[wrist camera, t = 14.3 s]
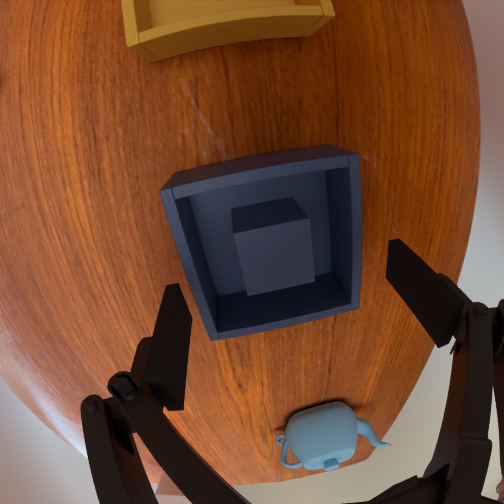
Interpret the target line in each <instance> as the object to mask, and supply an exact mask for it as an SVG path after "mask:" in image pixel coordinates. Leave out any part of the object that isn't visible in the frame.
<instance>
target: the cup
mask: <svg viewBox="0 0 504 504" xmlns="http://www.w3.org/2000/svg"><path fill="white" fill-rule="evenodd" d="M155 496H156V499H157V501H158V503H159V504H192V503H191V502H190V501H189V500H188V499H187V498H186V497H185V495H184V494H183V493H182V492H181V491H180V490H179V488H178V487H177V486H176V485H175V484H174V483H173V481H172V480H171V479H170V478H169V476H168V475H167V474H166V473H165V471H164V470H163V473H162V476H161V479H160V482H159V485H158V488H157V491H156V493H155Z"/></svg>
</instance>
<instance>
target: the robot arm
mask: <svg viewBox="0 0 504 504" xmlns="http://www.w3.org/2000/svg"><path fill="white" fill-rule="evenodd" d="M386 279H387V280H388V281H389V283H390V284H391V285H392V286H393V288H394V289H395V290H396V291H397V293H398V294H399V295H400V296H401V298H402V299H403V300H404V302H405V303H406V304H407V306H408V307H409V308H410V309H411V311H412V312H413V313H414V315H415V316H416V317H417V319H418V320H419V322H420V323H421V324H422V326H423V327H424V328H425V330H426V331H427V333H428V334H429V335H430V337H431V338H432V340H433V341H434V343H435V344H436V345H437V347H438V348H440V347H442V346H444V345H447V344H448V343H449V342H450V340H451V338H452V335H453V336H454V337H455V339H456V341H455V343H454V345H453V347H452V349H451V352H450V354H452V352H453V351H454V352H453V362H452V370H451V378H450V385H449V391H448V397H447V402H446V407H445V412H444V417H443V421H442V426H441V429H440V433H439V437H438V441H437V444H436V448H435V451H434V454H433V457H432V460H431V462H430V463H429V465H428V466H427V468H426V470H425V472H424V475H423V477H421V478H418V477H417V475H415V476H413V477H411V478H409V479H407V480H404V481H403V482H400V483H398V484H395V485H393V486H392V487H390V488H389V489H387V490H386V491H384V492H383V493H381V494H379V495H378V496H376V497H375V498H373V499H371V500H370V501H365V502H356V503H345V504H504V299H502V300H500V302H499V304H498V307H495V308H488V307H487V306H486V305H484V304H483V303H480V302H474V303H473V302H472V301H471V300H470V299H469V298H468V297H467V296H466V294H465V293H463V291H462V290H461V289H460V288H458V286H457V285H456V284H454V282H453V281H452V280H451V279H450V278H449V277H447V276H445V275H444V274H442V273H439V274H437V273H436V272H434V271H433V270H432V269H431V268H430V267H429V266H428V265H427V264H426V263H425V262H424V261H423V260H422V259H421V258H420V257H419V256H418V255H417V254H416V253H415V252H413V251H412V250H411V249H410V248H409V247H408V246H407V245H406V244H405V243H404V242H402V241H401V240H400V239H394V240H390V241H389V246H388V259H387V269H386ZM192 319H193V318H192V316H191V314H190V311H189V309H188V306H187V304H186V301H185V299H184V296H183V293H182V291H181V288H180V286H179V283H176V284H171V285H166V288H165V291H164V295H163V298H162V302H161V306H160V309H159V313H158V317H157V320H156V324H155V328H154V332H153V336H152V337H145V338H143V339H142V340H141V341H140V343H139V344H138V346H137V349H136V355H135V356H134V361H133V364H132V368H131V371H130V372H126V371H122V372H118V373H116V374H114V375H113V376H112V377H111V378H110V380H109V381H108V385H107V387H108V391H109V392H110V393H111V394H112V395H113V397H110V398H107V399H102V398H101V397H100V396H99V395H95V394H94V395H89V396H88V397H86V398H85V399H84V400H83V402H82V404H81V409H80V410H81V418H82V426H83V433H84V439H85V445H86V450H87V455H88V460H89V464H90V469H91V473H92V478H93V482H94V485H95V489H96V493H97V496H98V499H99V503H100V504H159V503H158V501H157V499H156V496H155V494H154V492H153V489H152V487H151V485H150V482H149V480H148V477H147V475H146V472H145V469H144V467H143V464H142V461H141V458H140V456H139V453H138V450H137V447H136V444H135V441H134V438H133V434H132V433H136V432H137V434H138V435H139V437H140V438H141V440H142V441H143V443H144V444H145V445H146V447H147V448H148V450H149V451H150V453H151V454H152V455H153V457H154V458H155V459H156V461H157V462H158V464H159V465H160V466H161V467H162V469H163V470H164V471H165V473H166V474H167V475H168V476H169V478H170V479H171V480H172V481H173V483H174V484H175V485H176V486H177V487H178V488H179V490H180V491H181V492H182V493H183V494H184V495H185V497H186V498H187V499H188V500H189V501H190V502H191V503H192V504H251V503H250V502H249V501H248V500H247V499H245V498H244V497H243V496H242V495H241V494H240V493H238V492H237V491H236V490H235V489H234V488H233V487H232V486H231V485H230V484H228V483H227V482H226V481H225V480H224V479H223V478H222V477H221V476H220V475H219V474H218V473H217V472H216V471H215V470H214V469H213V468H212V467H211V466H210V465H209V464H208V463H207V462H206V461H205V460H204V459H203V458H202V457H201V456H200V455H199V454H198V453H197V452H196V450H195V449H194V448H193V447H192V446H191V445H190V444H189V443H188V442H187V441H186V439H185V438H184V437H183V436H182V435H181V434H180V432H179V431H178V430H177V429H176V428H175V427H174V425H173V424H172V423H171V422H170V420H169V419H168V418H167V417H166V415H165V414H164V413H163V408H164V406H165V407H166V408H167V410H168V411H178V410H184V398H185V386H186V375H187V364H188V354H189V345H190V336H191V327H192ZM492 388H493V389H494V395H495V401H496V409H497V417H498V428H499V443H500V465H501V473H502V480H501V482H500V483H499V484H498V485H497V487H496V492H497V493H498V494H499V498H498V500H493V499H490V498H487V497H484V496H482V495H481V492H482V489H483V485H484V482H485V478H486V474H487V470H488V465H489V461H490V456H491V451H492V441H491V440H489V439H488V429H489V423H490V413H491V404H492Z"/></svg>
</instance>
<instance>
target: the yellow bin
mask: <svg viewBox="0 0 504 504" xmlns="http://www.w3.org/2000/svg"><path fill="white" fill-rule="evenodd" d="M121 4H122V13H123V21H124V29H125V36H126V43H127V47H128V48H129V49H130V50H132V51H133V52H135V53H136V54H138V55H139V56H141V57H142V58H144V59H145V60H146V61H148V62H149V63H152V62H155V61H159V60H162V59H165V58H169V57H172V56H176V55H180V54H184V53H188V52H192V51H196V50H200V49H205V48H210V47H215V46H220V45H226V44H232V43H238V42H245V41H253V40H262V39H272V38H286V37H310V36H311V35H312V34H313V33H315V32H316V31H317V30H318V29H320V28H321V27H322V26H323V25H325V24H326V23H327V22H328V21H330V20H331V19H332V18H334V17H335V12H334V9H333V5H332V2H331V0H121Z"/></svg>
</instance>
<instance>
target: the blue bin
mask: <svg viewBox="0 0 504 504" xmlns="http://www.w3.org/2000/svg"><path fill="white" fill-rule="evenodd" d="M159 192H160V196H161V199H162V202H163V206H164V209H165V213H166V216H167V219H168V222H169V226H170V229H171V232H172V235H173V238H174V241H175V244H176V248H177V251H178V254H179V257H180V260H181V263H182V265H183V268H184V271H185V274H186V277H187V280H188V283H189V285H190V288H191V291H192V294H193V296H194V299H195V302H196V305H197V307H198V310H199V313H200V315H201V318H202V320H203V323H204V326H205V328H206V331H207V333H208V336H209V338H210V340H211V341H214V340H220V339H226V338H232V337H237V336H243V335H248V334H253V333H258V332H263V331H268V330H273V329H278V328H282V327H287V326H291V325H296V324H300V323H304V322H309V321H313V320H317V319H321V318H325V317H329V316H333V315H336V314H340V313H344V312H348V311H350V310H355V309H358V308H359V304H360V289H361V268H362V197H361V176H360V161H359V154H357V153H354V152H351V151H348V150H345V149H342V148H339V147H335V146H332V145H329V144H326V145H318V146H310V147H303V148H296V149H289V150H282V151H276V152H270V153H264V154H259V155H253V156H248V157H243V158H238V159H233V160H228V161H223V162H218V163H214V164H209V165H205V166H201V167H197V168H192V169H188V170H184V171H180V172H176V173H174V174H173V175H172V177H171V178H170V179H169V180H168V181H167V182H166V184H165V185H164V186H163V187H162V188H161V190H160V191H159ZM288 197H292V198H293V199H294V200H295V201H296V202H297V204H298V205H299V206H300V207H301V209H302V210H303V211H304V212H305V213H306V215H307V216H308V217H309V219H310V228H311V239H312V250H313V262H314V275H315V281H314V282H310V283H306V284H301V285H297V286H293V287H288V288H284V289H279V290H274V291H270V292H265V293H260V294H255V295H251V296H248V295H247V291H246V287H245V283H244V278H243V274H242V270H241V266H240V262H239V257H238V253H237V249H236V245H235V240H234V236H233V228H232V217H231V209H233V208H237V207H242V206H247V205H252V204H257V203H262V202H267V201H272V200H277V199H282V198H288Z"/></svg>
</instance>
